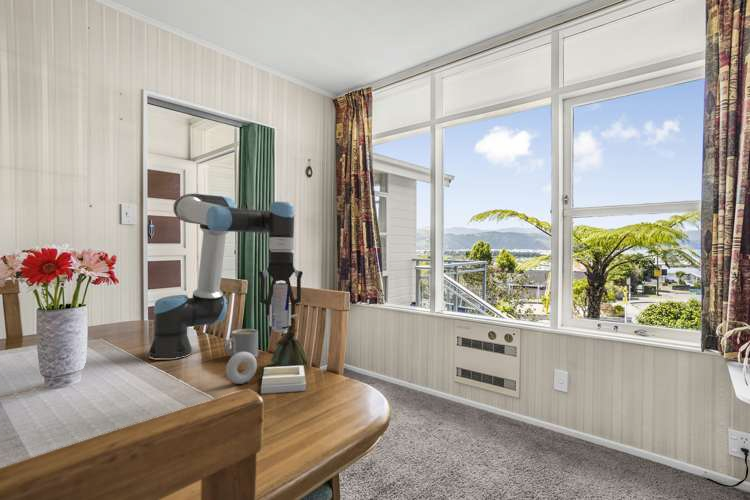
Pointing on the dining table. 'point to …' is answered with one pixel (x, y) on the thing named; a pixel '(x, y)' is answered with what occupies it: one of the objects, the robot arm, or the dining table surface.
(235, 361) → the donut
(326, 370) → the dining table surface
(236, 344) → the coffee mug
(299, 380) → the tray
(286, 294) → the beverage can
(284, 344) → the figurine
